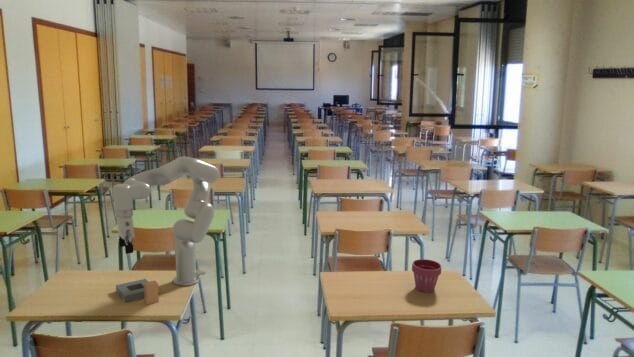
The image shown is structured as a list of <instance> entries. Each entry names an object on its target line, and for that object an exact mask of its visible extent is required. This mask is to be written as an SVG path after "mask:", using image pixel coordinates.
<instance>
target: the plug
mask: <svg viewBox="0 0 634 357" xmlns="http://www.w3.org/2000/svg"><path fill="white" fill-rule="evenodd" d="M144 294H145V297H144V302H145V303H146V304H147V305H151V304H152V305H153V304H156V303H159V302H160V301H159V300H160V298H159V283H158V282H157V281H156V280H154V279H153V280H151V281H150V280H149V281H148V282H145V283H144Z"/></svg>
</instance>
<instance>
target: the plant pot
mask: <svg viewBox="0 0 634 357" xmlns="http://www.w3.org/2000/svg"><path fill="white" fill-rule="evenodd" d="M411 271H412V272H413V277H414V284H415V285H414V286H415V289H416V290H418V291H420V292H422V293H431V292H434V291H435V288H436V285H437V284H438V283H437V282H438V280H439V276H440V275H441V274H442V264H441V263H440V262H438V261H435V260H433V259H426V258H425V259H424V258H421V259H415V260H413V262H412V265H411Z"/></svg>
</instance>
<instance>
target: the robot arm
mask: <svg viewBox="0 0 634 357" xmlns="http://www.w3.org/2000/svg"><path fill="white" fill-rule="evenodd" d="M183 176H189V177H190V178H191V180H192V184H193V186H192V187H193V188H192V190H191V192H190V195H189V198H188V200H187V202H186V205H185V208H184V211H183V212H184V215H185V216H186V217H188V218H190V219H192V220H194V221H191V220H190V219H189V220H188V219H185V218H182V219H178V220H177V221H175V223H174V224H173V227H172V234H173V240H174V244H175V245H174V246H175V271H176V272H175V274H176V276H175V277H174V278H173V279H172V281H173V284H175V285H176V286H180V287H187V286H189V287H190V286H192V285H196V284H198V282H199V281H200V276H205V275H206V271H205V270H202V271H201V270H200V269H199V270H197V264H196V263H197V262H196V261H197V260H196V258H197V256H196V244H200V243H202V241H204V239H205V237H206V236H207V234H208V231H209V229H210V226H211V224H212V222H213V219H214V217H215V209H214V206H213V205H212V204H211V203H210V202H208V199H209V196H210V194H211V193H210V192H211V187H210V184H215V183H216V182H218V180H219V178H220V171H219V169H218V167H216V166H214V165H213V164H209V163H207V162H205V161H202V160H200V159H198V158H194V157H190V156H180V157H177V158H175V159H174V160H171V161H169V162H168V163H166V164H164V165H162V166H160V167H158V168H157V167H156V168H153V169H150V170H149V169H148V170H146V171H142V172H139V173H137V174H135V175H133V176H131V177H129V178H127V179H126V180H125V181H124V182H123V183H119V184H118V183H117V184H115V185H113V187H112V195H113V196H112V199H113V210H114V218H116V223H117V224H116V226H117V234H118V240H119V242H118V243H119V247H120V248H122V247H124V251H125V254H126V255H127V254H133V253H134V242H133V239H135V236H136V235H135V229H134V221H133V216H134V208H133V201H134V200H144V199H147V198H148V197H150V195H151V193H152V188H151V186H164V185H169V184H171V183H173V182H174V181H176V180H178V179H180V178H182V177H183Z"/></svg>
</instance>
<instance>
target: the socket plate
mask: <svg viewBox="0 0 634 357" xmlns="http://www.w3.org/2000/svg"><path fill="white" fill-rule="evenodd" d="M145 282H149V281H148V280H147V279H146V278H142V279H139V280H138V279H137V280H134V281H129V282H125V283H122V284H116V285H115V291H116V293H117V294H118V295H119V297H121V299H122V300H123V301H124V302H125V303H127V302H131V301H135V300H140V299H143V298H144V299H145V294H144V283H145Z"/></svg>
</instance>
